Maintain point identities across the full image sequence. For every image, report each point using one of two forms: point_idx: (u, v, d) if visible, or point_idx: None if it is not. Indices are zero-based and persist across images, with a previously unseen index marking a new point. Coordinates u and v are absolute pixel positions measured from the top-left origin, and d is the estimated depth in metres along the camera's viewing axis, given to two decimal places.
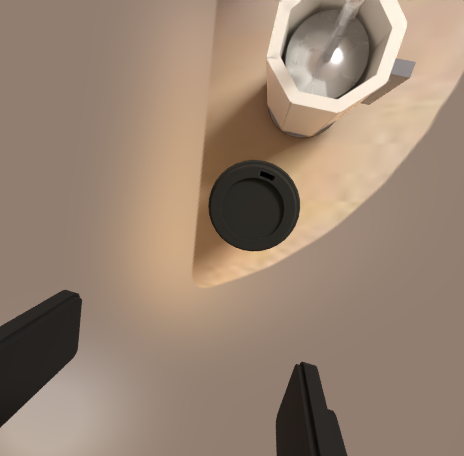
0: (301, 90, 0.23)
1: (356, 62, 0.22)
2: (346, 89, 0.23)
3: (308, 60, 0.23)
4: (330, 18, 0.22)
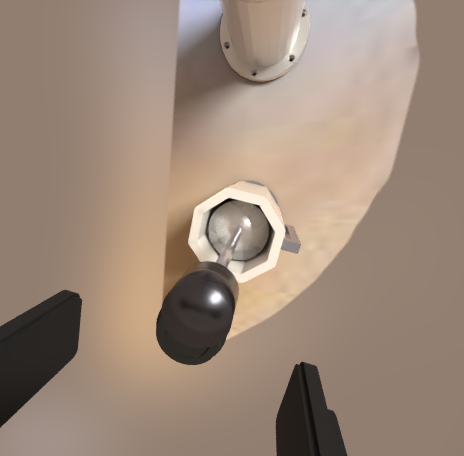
0: (221, 252, 0.30)
1: (260, 237, 0.29)
2: (254, 254, 0.30)
3: (225, 232, 0.30)
4: (239, 206, 0.29)
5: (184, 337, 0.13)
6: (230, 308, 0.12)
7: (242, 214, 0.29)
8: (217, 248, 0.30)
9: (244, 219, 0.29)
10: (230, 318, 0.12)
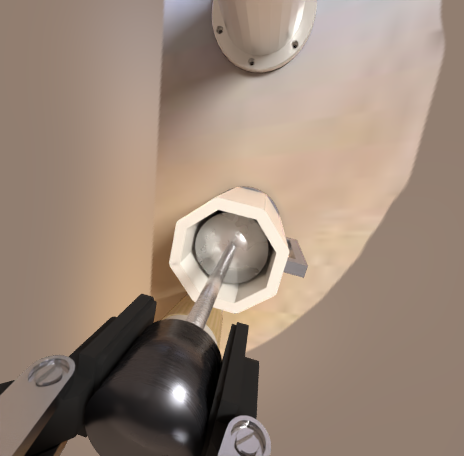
0: (211, 274, 0.25)
1: (257, 256, 0.24)
2: (251, 277, 0.24)
3: (215, 250, 0.24)
4: (232, 219, 0.23)
5: None
6: (200, 423, 0.07)
7: (236, 229, 0.24)
8: (206, 269, 0.25)
9: (238, 235, 0.24)
10: (200, 442, 0.07)
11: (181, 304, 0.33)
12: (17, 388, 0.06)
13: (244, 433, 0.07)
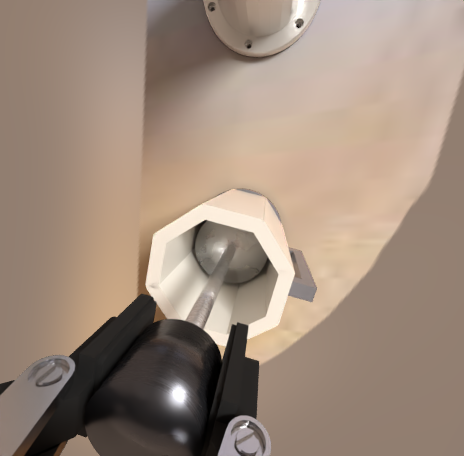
0: (211, 274, 0.25)
1: (257, 256, 0.24)
2: (251, 277, 0.24)
3: (215, 250, 0.24)
4: None
5: None
6: (200, 423, 0.07)
7: (236, 229, 0.24)
8: (206, 269, 0.25)
9: (238, 235, 0.24)
10: (200, 442, 0.07)
11: None
12: (17, 388, 0.06)
13: (244, 433, 0.07)
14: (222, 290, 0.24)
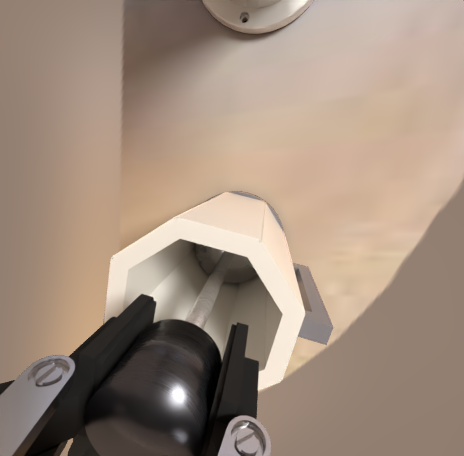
0: (211, 274, 0.25)
1: None
2: (251, 277, 0.24)
3: (215, 250, 0.24)
4: None
5: None
6: (200, 423, 0.07)
7: None
8: (206, 269, 0.25)
9: None
10: (200, 442, 0.07)
11: None
12: (17, 388, 0.06)
13: (244, 433, 0.07)
14: (211, 319, 0.19)
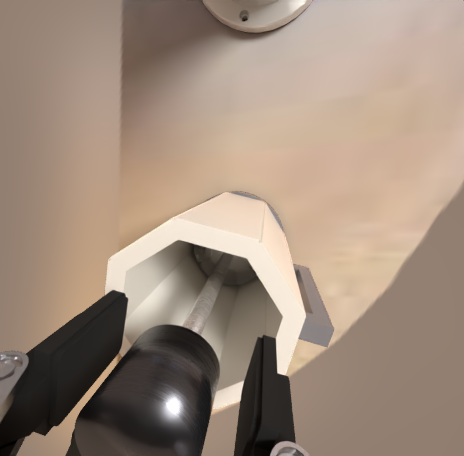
0: (210, 275, 0.25)
1: None
2: (250, 278, 0.24)
3: (214, 251, 0.24)
4: None
5: None
6: (196, 437, 0.07)
7: None
8: (205, 270, 0.25)
9: None
10: None
11: None
12: None
13: None
14: (210, 320, 0.19)
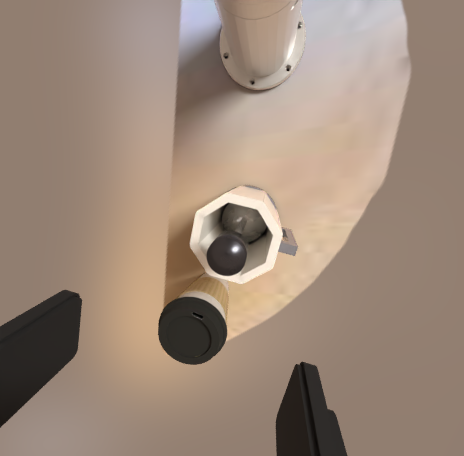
0: None
1: (260, 224, 0.39)
2: (256, 237, 0.40)
3: (234, 221, 0.39)
4: None
5: (219, 270, 0.23)
6: (245, 252, 0.22)
7: (247, 207, 0.39)
8: None
9: (249, 211, 0.39)
10: (245, 257, 0.22)
11: (194, 284, 0.40)
12: None
13: None
14: None
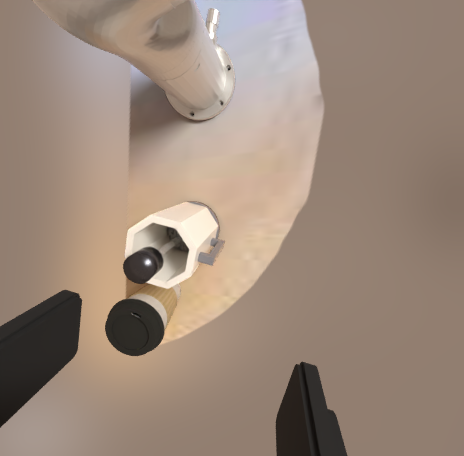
0: (176, 246, 0.46)
1: None
2: None
3: (178, 233, 0.46)
4: None
5: (133, 279, 0.29)
6: (152, 265, 0.28)
7: None
8: None
9: None
10: (152, 269, 0.28)
11: (144, 287, 0.46)
12: None
13: None
14: (172, 263, 0.41)
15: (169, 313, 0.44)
